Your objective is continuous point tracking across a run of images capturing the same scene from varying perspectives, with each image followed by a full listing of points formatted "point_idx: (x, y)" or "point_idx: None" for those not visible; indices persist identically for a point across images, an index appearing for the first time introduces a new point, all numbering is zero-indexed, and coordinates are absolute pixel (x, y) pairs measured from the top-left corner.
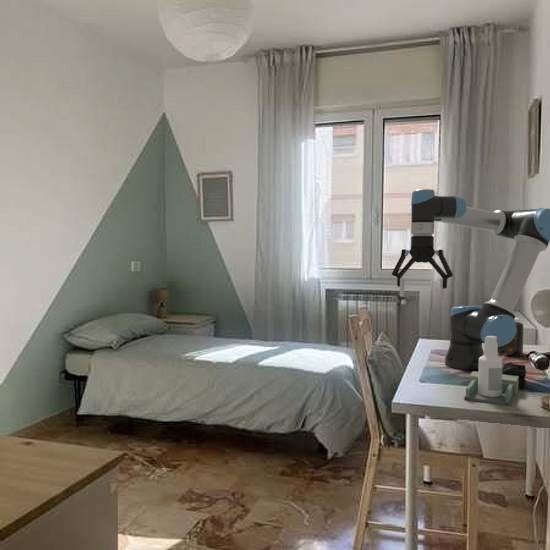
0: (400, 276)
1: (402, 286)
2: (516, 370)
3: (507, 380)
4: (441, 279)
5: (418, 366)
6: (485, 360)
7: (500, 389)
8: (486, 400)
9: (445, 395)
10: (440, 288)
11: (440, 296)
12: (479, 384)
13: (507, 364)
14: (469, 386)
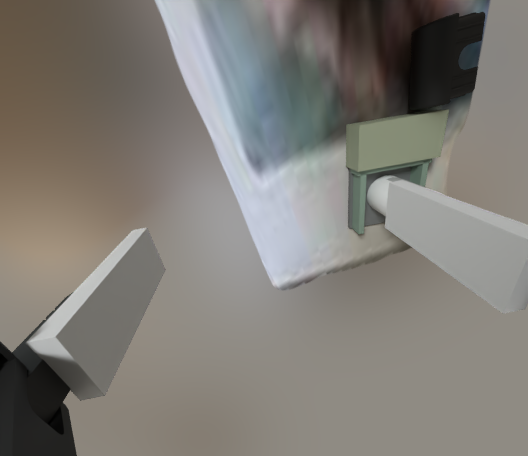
0: (67, 415)
1: (137, 310)
2: (454, 95)
3: (424, 159)
4: (513, 307)
5: (179, 6)
6: None
7: None
8: (379, 222)
9: (319, 223)
10: (432, 258)
11: (395, 232)
12: (378, 210)
13: (442, 45)
14: (362, 220)
